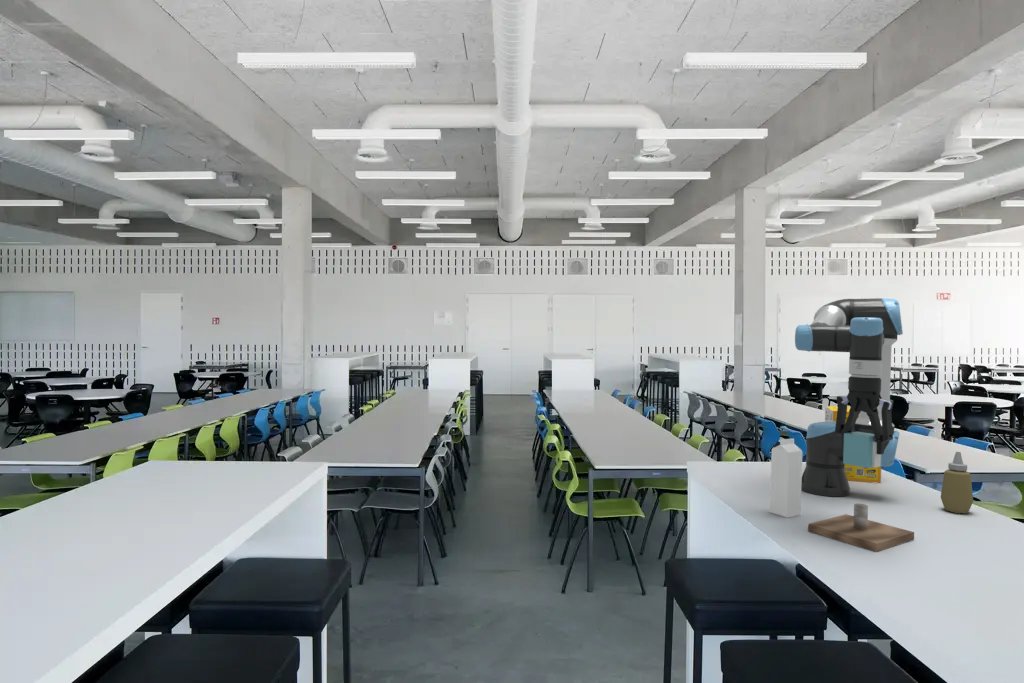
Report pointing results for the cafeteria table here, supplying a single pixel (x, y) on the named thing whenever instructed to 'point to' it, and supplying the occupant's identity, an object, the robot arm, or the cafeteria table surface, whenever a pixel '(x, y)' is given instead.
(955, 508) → the squeeze bottle
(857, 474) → the packaging box
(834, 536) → the walnut stand
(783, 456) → the milk
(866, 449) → the teal block
